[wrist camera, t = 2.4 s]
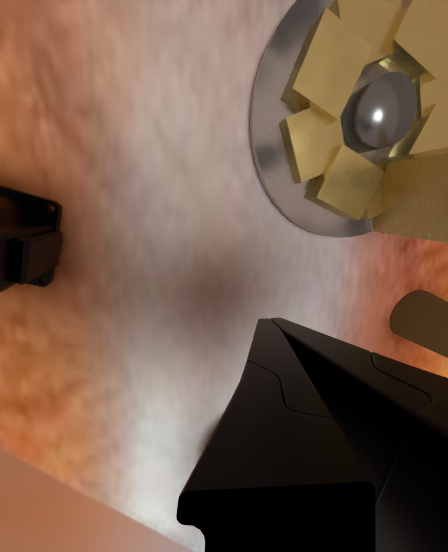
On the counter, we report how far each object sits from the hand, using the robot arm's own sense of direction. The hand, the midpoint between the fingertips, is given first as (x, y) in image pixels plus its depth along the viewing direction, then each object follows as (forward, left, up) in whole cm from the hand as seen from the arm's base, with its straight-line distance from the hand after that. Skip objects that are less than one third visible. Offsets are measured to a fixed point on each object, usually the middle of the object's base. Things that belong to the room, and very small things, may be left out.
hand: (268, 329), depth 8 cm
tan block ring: (+9, +13, -11) cm, 19 cm away
